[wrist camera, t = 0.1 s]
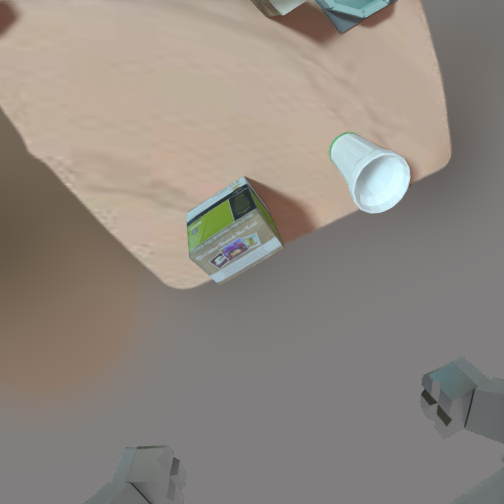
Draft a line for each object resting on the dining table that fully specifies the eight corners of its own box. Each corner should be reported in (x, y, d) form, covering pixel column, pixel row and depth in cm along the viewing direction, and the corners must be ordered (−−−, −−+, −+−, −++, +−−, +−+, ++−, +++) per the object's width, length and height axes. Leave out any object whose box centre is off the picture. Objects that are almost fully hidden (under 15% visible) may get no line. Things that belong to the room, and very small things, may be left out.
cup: (358, 113, 57) (400, 140, 45) (379, 157, 64) (417, 190, 53) (310, 144, 60) (341, 178, 48) (335, 185, 68) (366, 225, 56)
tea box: (212, 241, 72) (219, 288, 61) (185, 212, 65) (186, 258, 54) (268, 206, 68) (286, 249, 57) (244, 173, 62) (259, 213, 51)
